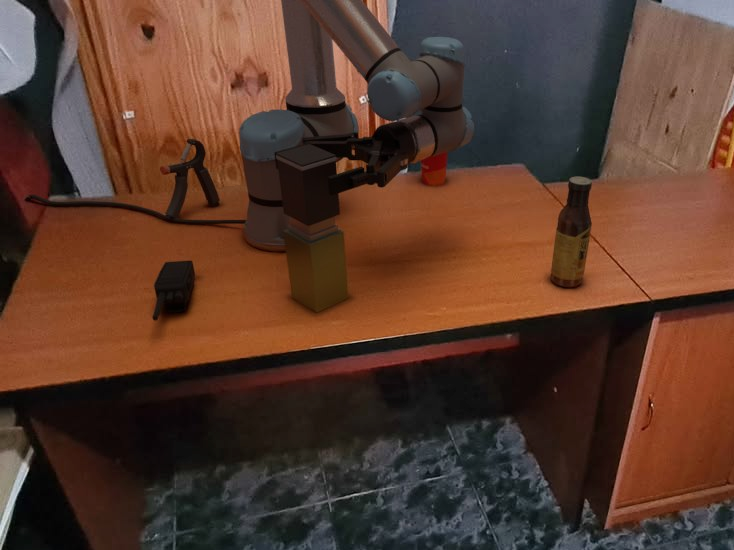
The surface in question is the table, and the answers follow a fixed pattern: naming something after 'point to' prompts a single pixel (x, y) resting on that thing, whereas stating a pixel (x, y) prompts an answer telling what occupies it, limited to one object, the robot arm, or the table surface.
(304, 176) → the dark lidded box
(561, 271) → the sauce bottle
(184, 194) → the hand grip strengthener
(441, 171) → the paper cup
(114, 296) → the table surface
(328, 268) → the olive square canister
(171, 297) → the walkie-talkie
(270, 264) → the table surface
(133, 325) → the table surface
